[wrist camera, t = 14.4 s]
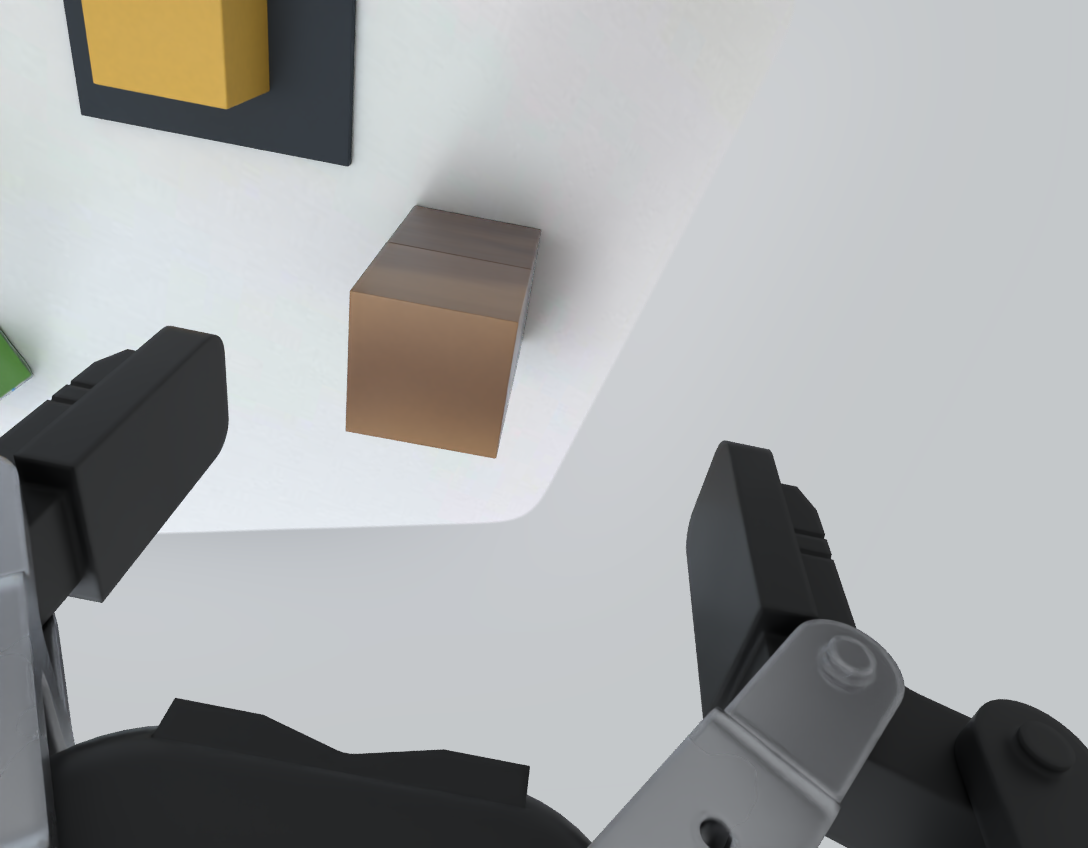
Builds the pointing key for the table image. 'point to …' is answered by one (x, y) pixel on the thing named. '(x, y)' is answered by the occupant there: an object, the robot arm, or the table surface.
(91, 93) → the mat
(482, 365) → the tower
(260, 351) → the table surface
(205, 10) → the top block
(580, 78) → the table surface
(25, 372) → the ink box
